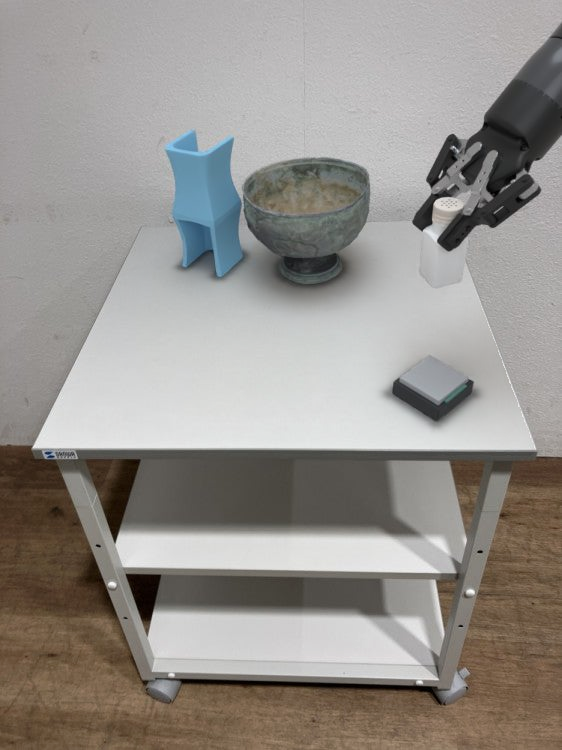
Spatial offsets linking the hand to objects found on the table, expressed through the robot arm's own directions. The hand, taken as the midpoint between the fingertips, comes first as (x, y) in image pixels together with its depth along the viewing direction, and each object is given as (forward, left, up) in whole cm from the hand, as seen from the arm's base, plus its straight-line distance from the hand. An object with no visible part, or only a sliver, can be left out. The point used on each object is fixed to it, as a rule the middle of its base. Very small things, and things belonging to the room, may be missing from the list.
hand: (430, 236), depth 68 cm
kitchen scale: (-4, +2, -20) cm, 20 cm away
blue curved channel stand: (+41, +1, -20) cm, 46 cm away
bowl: (+28, -8, -20) cm, 36 cm away
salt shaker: (-1, -2, -6) cm, 7 cm away
